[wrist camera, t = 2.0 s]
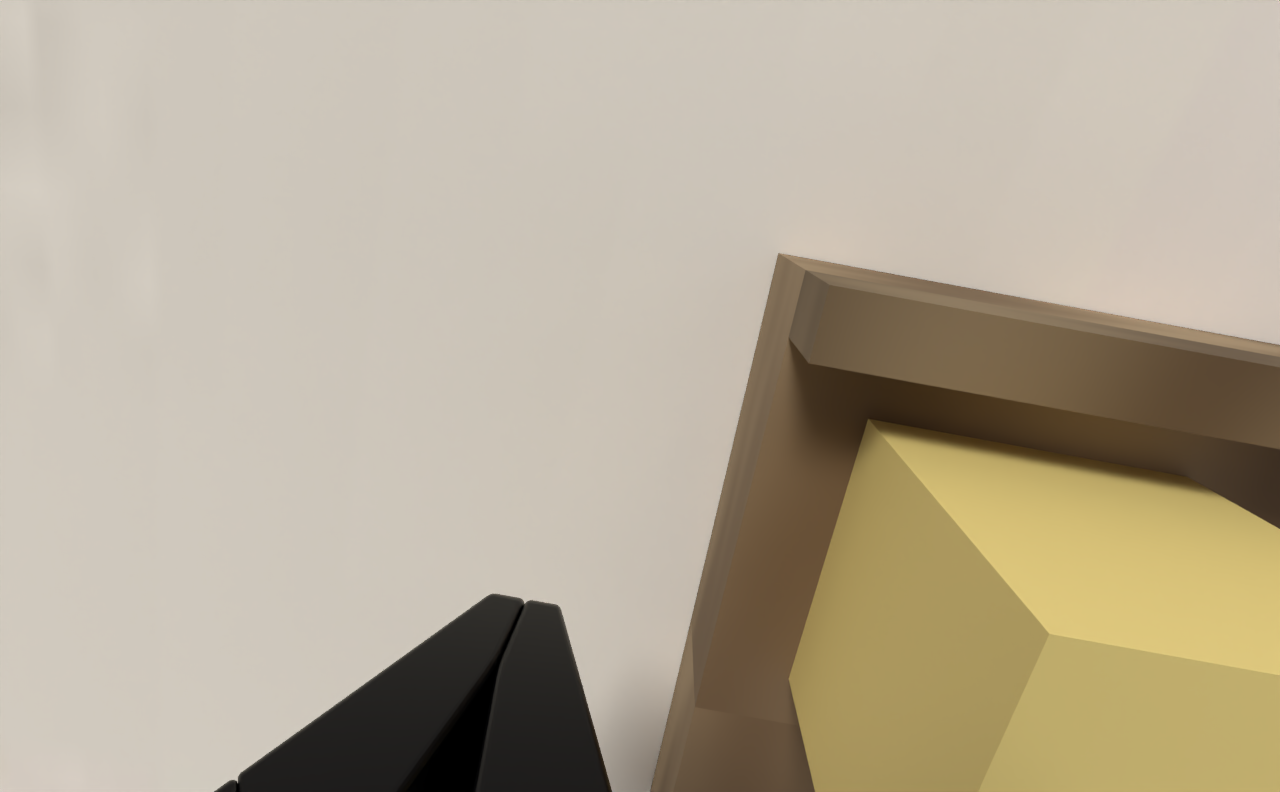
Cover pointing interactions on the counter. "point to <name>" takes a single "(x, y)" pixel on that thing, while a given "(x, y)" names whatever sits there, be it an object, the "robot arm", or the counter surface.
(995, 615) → the block
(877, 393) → the deck
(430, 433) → the counter surface
